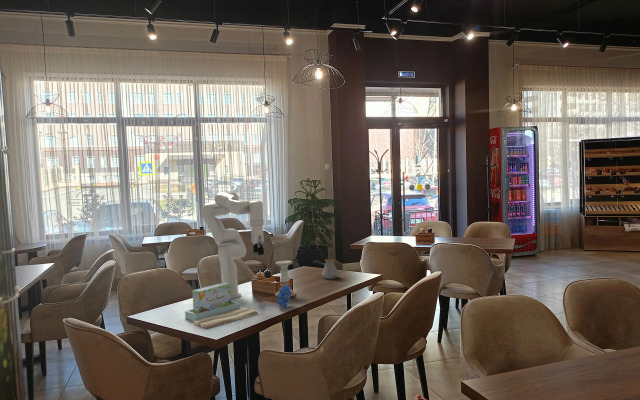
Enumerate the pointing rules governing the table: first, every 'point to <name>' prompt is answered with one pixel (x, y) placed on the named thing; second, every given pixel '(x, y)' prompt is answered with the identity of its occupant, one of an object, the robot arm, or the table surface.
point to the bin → (211, 312)
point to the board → (225, 317)
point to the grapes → (283, 296)
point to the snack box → (211, 297)
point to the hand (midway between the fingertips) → (258, 253)
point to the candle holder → (284, 275)
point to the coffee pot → (329, 269)
